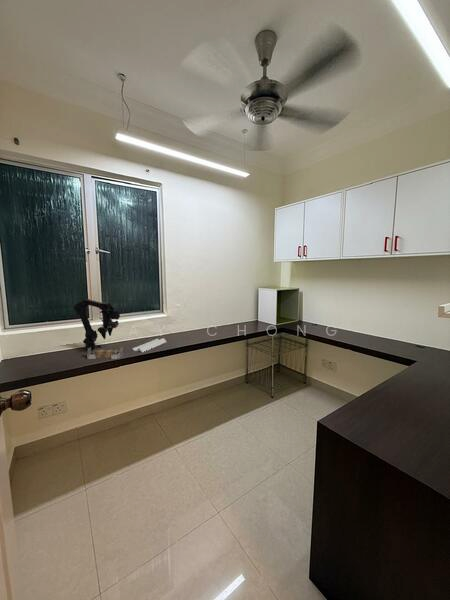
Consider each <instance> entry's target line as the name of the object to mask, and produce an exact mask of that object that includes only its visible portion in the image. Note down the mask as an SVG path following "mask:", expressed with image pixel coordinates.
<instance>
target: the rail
mask: <svg viewBox="0 0 450 600" xmlns="http://www.w3.org/2000/svg"><path fill="white" fill-rule="evenodd" d="M118 351H119V349H94V350H91V352H93V354H96V358H95V359H97V358H101V359H103V358H104V359H107V358H109V359H111V355H112V354H118Z"/></svg>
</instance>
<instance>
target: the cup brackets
mask: <svg viewBox="0 0 450 600" xmlns="http://www.w3.org/2000/svg"><path fill="white" fill-rule="evenodd" d="M123 348H124V347H122V346H121V347H119V350H118V354H112V355H111V358H110V359H112V360H113V359H116V360H117V359H120V358H122V357H123V356H124V351H123V350H124V349H123ZM87 359H89V360H92V359H95V360H96V359H97V358H96V354H93V352H92V350H91V347H89V348H88V350H87Z"/></svg>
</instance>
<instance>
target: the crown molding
mask: <svg viewBox="0 0 450 600" xmlns="http://www.w3.org/2000/svg"><path fill="white" fill-rule="evenodd" d="M166 343H167V340H166V339H165V338H164V337H163V338H160V339H159V338H156V339H153V340H151V341H148V342H145V343H144V344H141V345H138V346H136V347H133V348H132V349H131V350H132V351H134V352H140V353H144V351H145V352H147V351H149V350H152V349H153V348H156V347H158V346H160V345H163V344H166ZM151 348H152V349H151ZM146 350H147V351H146Z"/></svg>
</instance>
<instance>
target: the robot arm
mask: <svg viewBox="0 0 450 600" xmlns="http://www.w3.org/2000/svg"><path fill="white" fill-rule="evenodd" d="M89 306H90V307H91V306H92V307H95V308H97V309H99V310H101V311H99V313H100V314H102V320H101V322H102V324H101V326H99V327H98V328H97V329H96V330H94V329H93V327H92V326H91V322H90V320H89V317H88V315H87V311H88V310H87V308H88V307H89ZM73 310H74V311H75V313H76V314H77V315H78V316H79V317H80V320H81V322H82V325H83V328H84V331H85V333H84V336H85V338H84V339H83V340H82V342H83V344H84V345H85V346H84V347H85V349H84V351H88V348H89V347H91V351H94V350H96V348H97V347H96V341H97V339H98V333H99V334H100V336H101V337H102V338H103V340H106V336H107V333H108V336H109V337H111V336H112V332H113V330H114V329H117V327H118V326H119V321H118V320H119V319H120V316H121V314H120V312H119V310H115V309H114V307H113V305H112V303H110V302H108V301H107V302H103V301H102V302H101V301H96V300H92V299H90V298H86V299H83V300H82V301H80V302H78V303H76V304H75V305H74V306H73ZM113 320H115V321H113ZM97 332H98V333H97Z"/></svg>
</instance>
